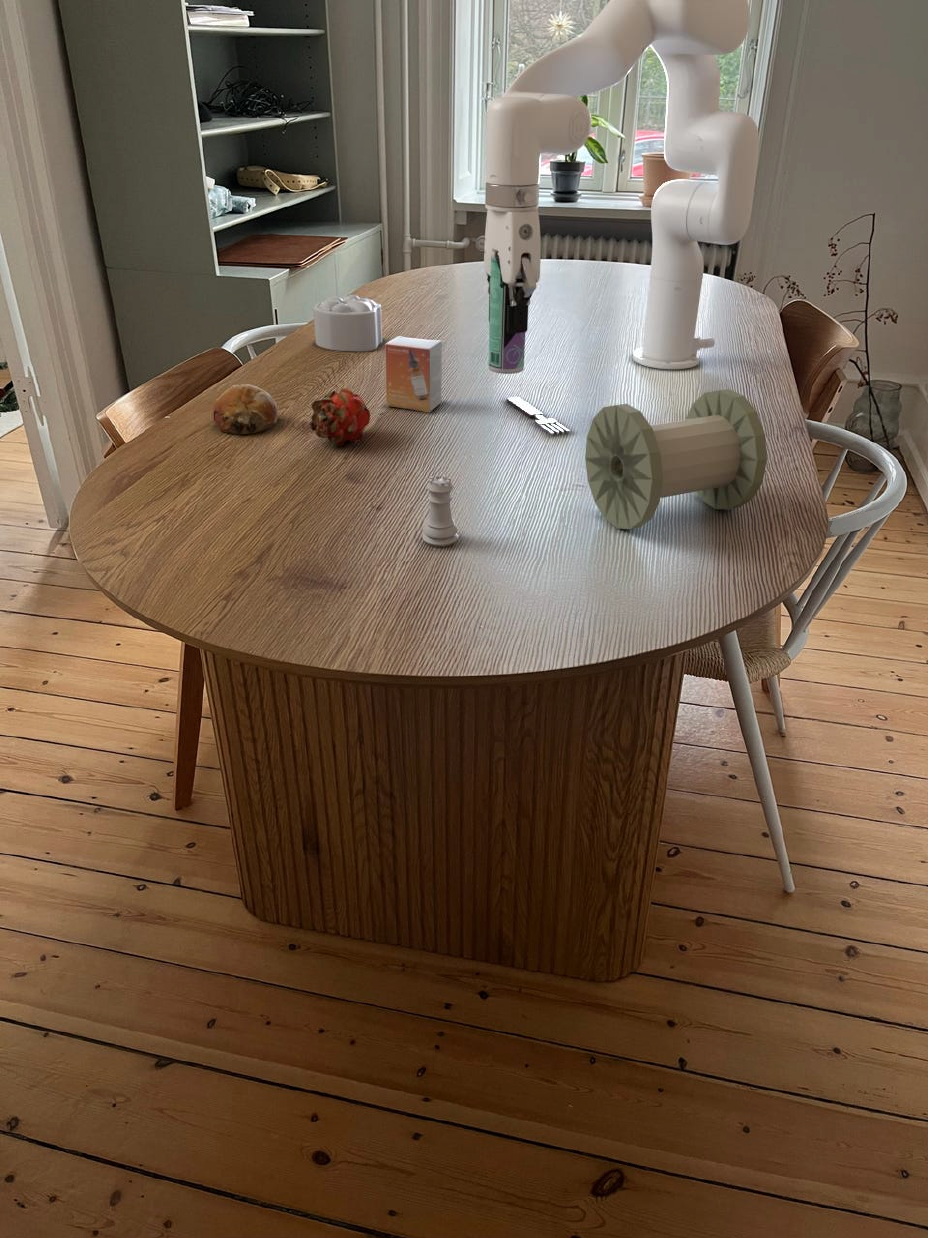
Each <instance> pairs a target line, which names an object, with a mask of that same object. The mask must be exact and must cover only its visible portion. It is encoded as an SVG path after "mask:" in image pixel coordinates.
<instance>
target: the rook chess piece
mask: <svg viewBox="0 0 928 1238" xmlns="http://www.w3.org/2000/svg"><path fill="white" fill-rule="evenodd" d="M428 481H429V482H428V483H427V484H426V485H425V487H426V489H427V490H428V492H429V496H428V497H427V498H428V501H429V511H428V516H427V517H428V518H427V519H426V521H425V523H424V524H423V526H422V536H421V538H422V541H424V543H426V544H427V545H428V546H431V547H435V548H446V547H450V546H453V545H454V544H455V543H456V542H457V541H458V540H459V534H458V532H459V528H458V525H457V524H456V522H455V520H454V518H453V515H452V508H451V502H452V500H453V498H452V495H451V492H452V491H454V488H455V486H454V484H453V483H452V479H451V477H450V476H449V477H448V475H445V474H443V475H442V478H441V477H440V474H435V477H434V476H430V477H429V480H428Z"/></svg>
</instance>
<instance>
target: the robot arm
mask: <svg viewBox="0 0 928 1238" xmlns="http://www.w3.org/2000/svg"><path fill="white" fill-rule="evenodd" d="M750 10H751V9H750V5H749V2H748V0H609V1H608V2H607V3H606V4H605V6H604V7H603V8H602V9H601V11H600V12H599V13H598V14H597V15H596V17H595V18H593V20H592V21H591V22H590V24H589V25H588V26H587V28H586V29H585V30H584V31H582V33H581V34H579V35H577V36H575V37H573V38H571V39H570V40H568V41H566V42H564V43H563V44H560V45H559V46H557V47H556V48H554V49H552V50H551V51H549V52H546V53H545V54H544V55H542V56H540V57H538V58H537V59H535V60H534V61H533V62H531V63H530V64H528V65H527V66H526V67H525V68H524V69H523V70H522V71H521V72H520V73H519V74H518V76H517V77H516V78H515V79H514V80H513V82H511V84H510V85H509V86H508V88H507V89H506V90H505V92H504V93H503V95H502V96H499V97H495V98H493V99H492V100H491V101H490V102H489V103H488V106H487V111H486V112H487V113H486V149H485V150H486V154H485V155H486V156H485V200H484V202H485V203H484V205H485V207H484V208H485V209H486V210H487V212H486V218H485V219H486V220H485V228H484V229H485V231H484V247H483V248H484V251H483V265H484V272H485V274H486V276H487V277H486V281H487V283H488V289H487V294H488V323H490V280H491V253H492V252H493V251H492V248H493V249H494V250H498V253H497V254H498V256H499V258H500V268H501V275H502V280H503V282H504V283H506V284H508V288H509V298H510V305H508V306H507V333H509V334H514V333H523V332H525V333H527V332H528V327H529V325H528V324H529V306H530V304H531V298H532V295H533V294H534V292H535V291H536V289H537V284H538V283H539V281H540V279H541V257H542V255H541V254H542V253H541V250H542V249H541V225H540V215H539V211H538V210H539V201H540V200H539V197H540V179H541V158H542V155H543V154H544V155H545V154H546V155H554V156H555V155H556V156H565V155H566V156H567V155H570V154H573V153H575V152H577V151H579V150H580V149H581V148H582V147H583V146H584V145H585V144H586V142H587V141H588V139H589V136H590V134H591V130H592V117H591V112H590V110H589V108H588V106H587V105H586V103H585V102H584V101H582V100H581V99H580V98H579V97H583V96H588V95H591V94H596V93H598V92H601V91H605V90H607V89H609V88H612V87H614V86H617V85H618V84H620V83H621V82H622V81H623V80H624V79H625V78H626V77H627V75H628V74H629V73H630V72H631V70H632V69H633V68H634V66H635V65H636V64H637V63H638V61H639V60H640V58H642V56H643V55H644V54H645V53H646V51H647V50H648V49H649V48H651V49H652V50H653V51H654V52H655V54H656V55H657V57H658V58H659V60H660V62H661V64H662V66H663V69H664V73H665V76H666V82H667V83H666V85H667V92H666V111H665V128H664V143H663V144H664V145H663V146H664V147H663V150H664V151H663V155H664V160H665V163H666V164H667V166H668V167H669V168H670V169H672V170H674V171H676V172H681V173H689V174H697V175H706V176H707V175H709V176H716V177H717V182H709V181H704V180H694V179H673V180H670V181H667V182H665V183H663V184H662V185H661V186H659V188H658V189H657V190H656V191H655V193H654V196H653V198H652V200H651V205H650V206H651V207H650V221H651V234H652V235H651V236H652V237H651V238H652V248H651V261H650V270H649V271H650V272H649V280H648V289H647V298H646V299H647V300H646V307H645V315H644V316H645V317H644V325H643V326H644V327H643V335H642V345H641V347H639V348H636V349H635V350H634V351H633V353H632V360H633V361H634V362H635V363H637V364H639V365H642V366H644V367H648V368H653V369H660V370H685V369H686V370H687V369H691V368H694V367H696V366H698V365H699V363H700V362H701V361H700V360H701V356H700V355H699V354H698V352H699V351H701V350H702V349H712V348H714V346H715V339H714V337H711V336H710V337H704V338H701V336H700V335H698V336H697V335H696V329H697V321H698V315H699V314H698V313H699V306H700V305H699V304H700V299H701V291H702V284H703V278H704V271H705V265H704V264H705V263H704V257H703V253H702V250H701V248H700V246H699V243H698V242H702V243H708V244H713V245H714V244H715V245H721V246H723V245H725V246H728V245H729V246H730V245H733V244H736V243H738V242H739V241H741V240H742V239H743V237H744V236H745V234H746V232H747V231H748V228H749V226H750V221H751V218H752V212H753V203H754V195H755V188H756V179H757V170H758V162H759V153H760V134H759V128H758V126H757V123H756V122H755V119H753V118H752V117H751V116H750V115H748V114H746V113H743V112H735V111H721V110H720V91H721V90H720V89H721V72H720V68H719V65H718V61H717V59H716V57H715V56H726V55H729V54H732V53H733V52H735V51H736V50H737V49H739V48H740V46H741V45H742V44H743V43H744V41H745V39H746V37H747V35H748V32H749V28H750V24H751V11H750ZM521 278H523V282H519V283H515V282H516V279H521ZM520 287H522V289H519V291H518V293H517V294H516V290H515V288H520Z"/></svg>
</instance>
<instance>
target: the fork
mask: <svg viewBox="0 0 928 1238" xmlns="http://www.w3.org/2000/svg"><path fill="white" fill-rule="evenodd" d="M505 401H506V404H508V405H509V406H511V407H513V408H514V409H516V410H517V411H518V412H520V413H521V414H523V415H524V416H525V417H527V418H529V420H535V421H534V425H535V426H536V427H538V428H539V429H541V430H542V431H544V432H545V433H546V434H548V435H550V436H551V437H553V436H555V435H556V436H559V435H565V434H570V430H569V429H568V428H566V427H565V426H564V425H562V424H560V423H559V422H558V421H557V420H556V419H554V418H553V417H552V418H546V417H544V415H543V412H542V411H540V410H538V409H537V408H536V407H534V406H532V405H531V404H530V403H528V402H527V401H525V400H524V399H522V398H521V397H520V396H513V397H507V398H506V400H505Z"/></svg>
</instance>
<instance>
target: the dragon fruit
mask: <svg viewBox="0 0 928 1238" xmlns="http://www.w3.org/2000/svg"><path fill="white" fill-rule="evenodd" d="M311 409H312V411H313V413H312V415H311V416H310V418H311V422H310V423H309V426H310V430H311V431H315V434H316V436H317V437H318V438H322V439H327V440H328V442H329V444H332V445H335V446H337V447H342V446H343V445H344V444H345V443H346V442H347V441H350V442H352V443H355V442H357V441H358V443H360V442H361V441H362V440H363V439H364V433H363V431H364V430H365V428H366V427H367V426H368V425H369V424H370V420H371V411H370V410H369V408H368V406H366V403H365V401H364V400H363V398H362V397H361V396H360V395H359V393H356V392H354V393H353V391H352V390H351V389H349V388H345V387H344V388H342V389H340V390H339V391H338V392H337V391H336V390H333V391H330V392H329V393H327V394H325V395H324V397H323V398H322V399H317V400H314V401H313V402H311Z"/></svg>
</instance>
